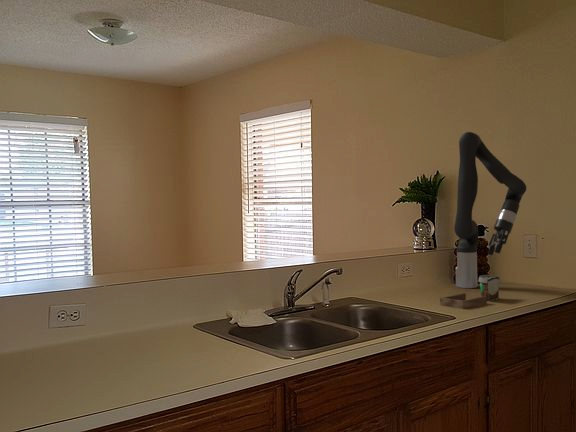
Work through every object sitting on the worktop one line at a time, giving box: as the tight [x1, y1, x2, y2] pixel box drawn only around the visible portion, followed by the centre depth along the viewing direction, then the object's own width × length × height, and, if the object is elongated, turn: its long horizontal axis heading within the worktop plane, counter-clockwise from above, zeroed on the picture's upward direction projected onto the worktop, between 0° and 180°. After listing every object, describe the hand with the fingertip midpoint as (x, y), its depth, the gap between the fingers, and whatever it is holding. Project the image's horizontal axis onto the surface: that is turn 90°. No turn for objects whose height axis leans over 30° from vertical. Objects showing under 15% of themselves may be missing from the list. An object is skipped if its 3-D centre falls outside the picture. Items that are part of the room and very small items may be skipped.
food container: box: [477, 274, 501, 302], centre depth 229 cm, size 12×6×10 cm, turn 134°
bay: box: [439, 292, 488, 310], centre depth 220 cm, size 11×16×3 cm
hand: (493, 253), depth 244 cm, fingers open, 8 cm apart
